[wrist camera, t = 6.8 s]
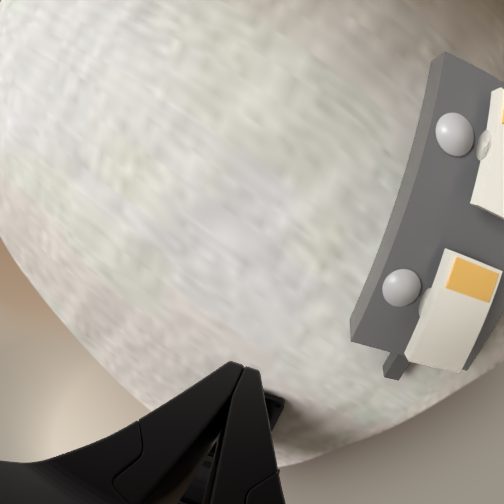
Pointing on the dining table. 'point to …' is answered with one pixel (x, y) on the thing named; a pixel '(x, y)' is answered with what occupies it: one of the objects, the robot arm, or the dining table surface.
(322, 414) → the dining table surface
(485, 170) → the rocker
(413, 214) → the switch panel
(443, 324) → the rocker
